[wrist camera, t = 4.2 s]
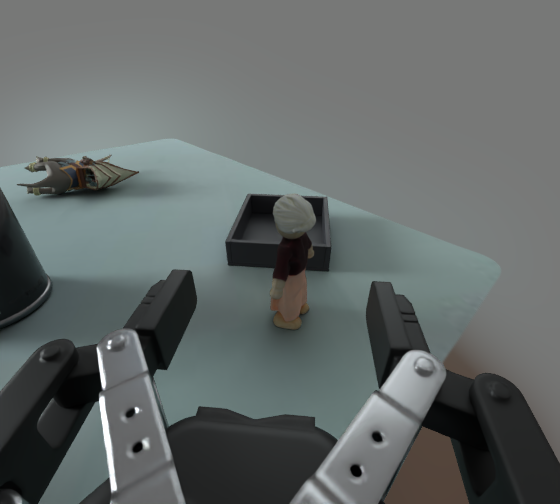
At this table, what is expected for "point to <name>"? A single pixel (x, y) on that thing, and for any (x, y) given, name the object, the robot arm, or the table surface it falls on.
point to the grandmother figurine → (291, 260)
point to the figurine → (75, 175)
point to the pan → (274, 234)
